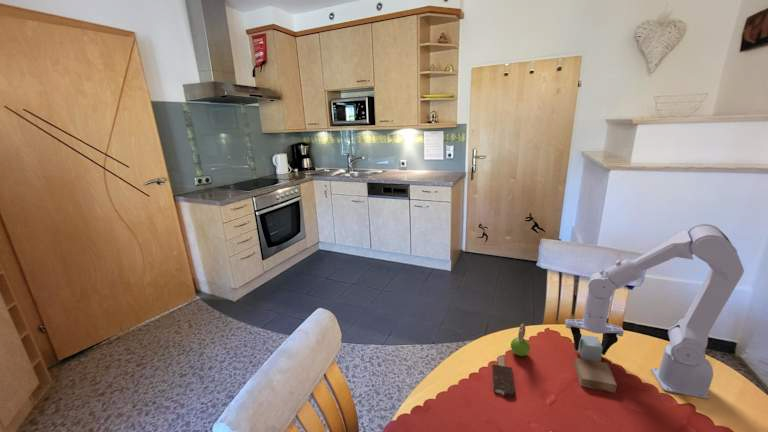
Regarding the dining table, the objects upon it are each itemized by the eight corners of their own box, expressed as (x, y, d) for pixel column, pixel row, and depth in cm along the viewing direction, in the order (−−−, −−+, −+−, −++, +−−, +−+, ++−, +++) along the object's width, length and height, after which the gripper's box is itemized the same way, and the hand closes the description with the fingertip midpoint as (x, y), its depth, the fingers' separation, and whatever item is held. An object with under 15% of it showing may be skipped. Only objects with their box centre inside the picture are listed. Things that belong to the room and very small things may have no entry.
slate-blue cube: (595, 350, 99) (598, 337, 98) (600, 361, 95) (602, 347, 93) (577, 347, 101) (579, 334, 100) (581, 358, 97) (583, 344, 95)
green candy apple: (508, 359, 97) (511, 325, 94) (511, 345, 103) (514, 313, 99) (527, 364, 95) (531, 330, 91) (529, 350, 100) (533, 318, 97)
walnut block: (605, 371, 92) (607, 363, 91) (614, 393, 85) (616, 384, 84) (574, 365, 94) (575, 357, 93) (580, 386, 87) (581, 378, 86)
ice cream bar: (491, 356, 99) (494, 396, 85) (491, 352, 99) (494, 391, 85) (509, 359, 98) (515, 399, 84) (510, 355, 97) (515, 395, 84)
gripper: (620, 308, 95) (612, 346, 99) (565, 301, 99) (560, 337, 103) (629, 322, 88) (620, 362, 93) (570, 314, 93) (564, 352, 97)
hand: (589, 350), depth 98 cm, fingers open, 6 cm apart
